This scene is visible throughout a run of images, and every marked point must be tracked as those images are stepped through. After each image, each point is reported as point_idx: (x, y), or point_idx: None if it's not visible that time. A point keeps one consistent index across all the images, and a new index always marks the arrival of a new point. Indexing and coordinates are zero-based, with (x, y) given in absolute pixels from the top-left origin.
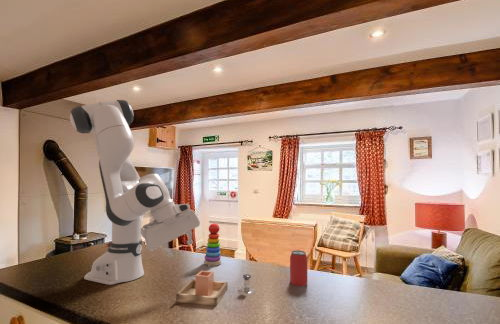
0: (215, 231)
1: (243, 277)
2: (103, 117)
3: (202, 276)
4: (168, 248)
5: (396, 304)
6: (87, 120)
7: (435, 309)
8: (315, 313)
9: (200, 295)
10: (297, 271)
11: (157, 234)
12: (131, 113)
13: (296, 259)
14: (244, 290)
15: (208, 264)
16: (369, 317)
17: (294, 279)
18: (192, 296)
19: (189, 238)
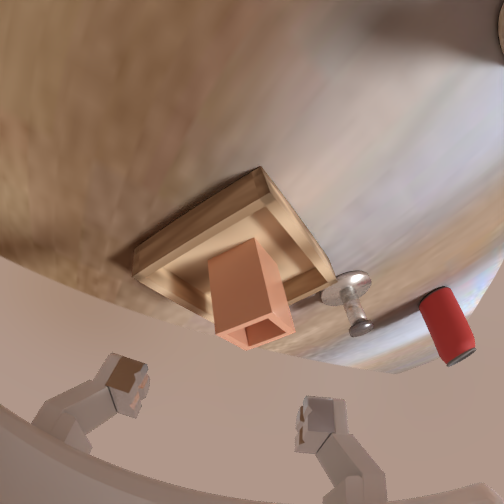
0: None
1: (351, 328)
2: None
3: (233, 342)
4: (90, 424)
5: (400, 356)
6: None
7: (400, 364)
8: (333, 354)
9: (201, 311)
10: (431, 334)
11: None
12: None
13: (441, 356)
14: (341, 295)
15: (500, 34)
16: (356, 365)
17: (425, 314)
18: (178, 301)
19: (325, 457)
